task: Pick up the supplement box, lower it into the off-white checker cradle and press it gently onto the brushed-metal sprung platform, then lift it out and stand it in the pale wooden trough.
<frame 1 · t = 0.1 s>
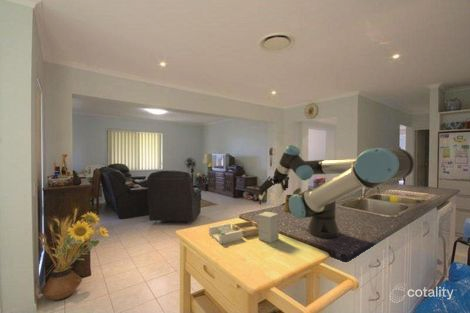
hand: (269, 197, 137), 15 cm above the counter, tool tilted 35°, fingers open, 13 cm apart
checker cradle: (225, 236, 115), on the counter
wooden trough: (248, 231, 122), on the counter
supplement box: (268, 239, 111), on the counter
wooden mug: (292, 211, 160), on the counter
cradle platform: (225, 229, 115), point 4 cm above the counter, slide at 0.0 cm
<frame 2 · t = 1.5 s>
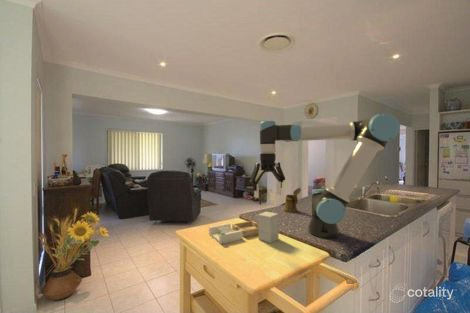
hand: (267, 196, 111), 21 cm above the counter, tool pointing down, fingers open, 13 cm apart
nothing on the counter moved.
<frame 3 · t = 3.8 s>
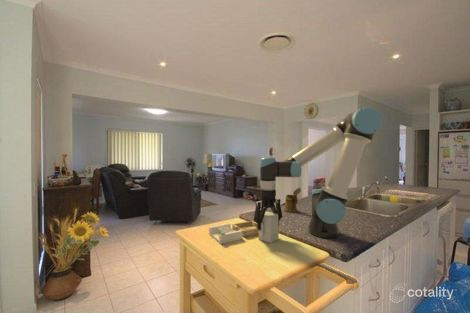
hand: (268, 234, 111), 2 cm above the counter, tool pointing down, fingers closed on supplement box, 9 cm apart
supplement box: (268, 239, 111), on the counter, touching gripper
everything else where it was.
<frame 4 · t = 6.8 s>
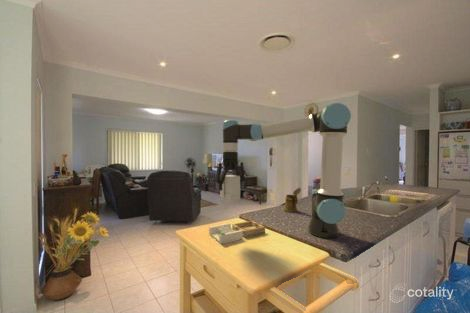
hand: (230, 195, 114), 21 cm above the counter, tool pointing down, fingers closed on supplement box, 9 cm apart
supplement box: (230, 200, 114), point 19 cm above the counter, touching gripper
everything else where it was.
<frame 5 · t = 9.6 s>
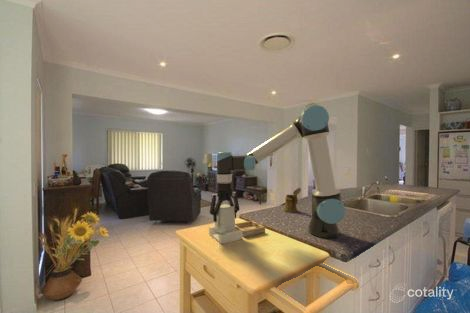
hand: (225, 226, 115), 5 cm above the counter, tool pointing down, fingers closed on supplement box, 9 cm apart
supplement box: (225, 231, 115), point 3 cm above the counter, touching cradle platform, gripper
cradle platform: (225, 231, 115), point 3 cm above the counter, slide at 1.0 cm, touching supplement box
everything else where it was.
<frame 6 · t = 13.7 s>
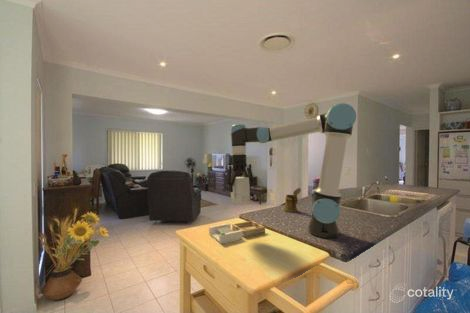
hand: (240, 196, 119), 20 cm above the counter, tool pointing down, fingers closed on supplement box, 9 cm apart
supplement box: (240, 201, 119), point 17 cm above the counter, touching gripper
cradle platform: (225, 231, 115), point 3 cm above the counter, slide at 0.8 cm
everything else where it was.
when the fingers open (5 cm above the counter, at t = 17.5 s): supplement box drops 1 cm, resting on wooden trough.
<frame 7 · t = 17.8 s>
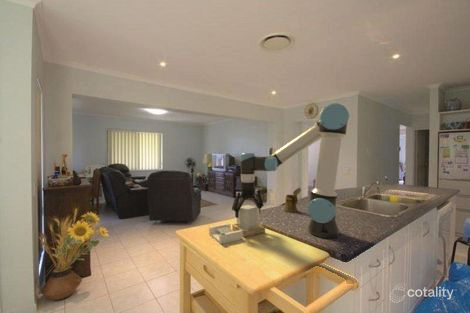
hand: (248, 221, 122), 5 cm above the counter, tool pointing down, fingers open, 11 cm apart
supplement box: (248, 230, 122), point 1 cm above the counter, touching wooden trough
everything else where it was.
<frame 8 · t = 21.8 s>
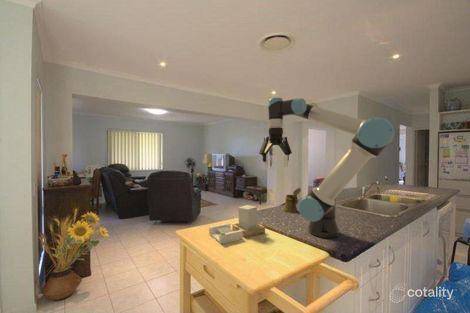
hand: (276, 167, 120), 35 cm above the counter, tool pointing down, fingers open, 13 cm apart
nothing on the counter moved.
at the end: supplement box inside the target area on the wooden trough (0.2 cm from its centre), point 0.6 cm above the wooden trough's base; supplement box tilted 0°; the gripper is holding nothing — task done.
